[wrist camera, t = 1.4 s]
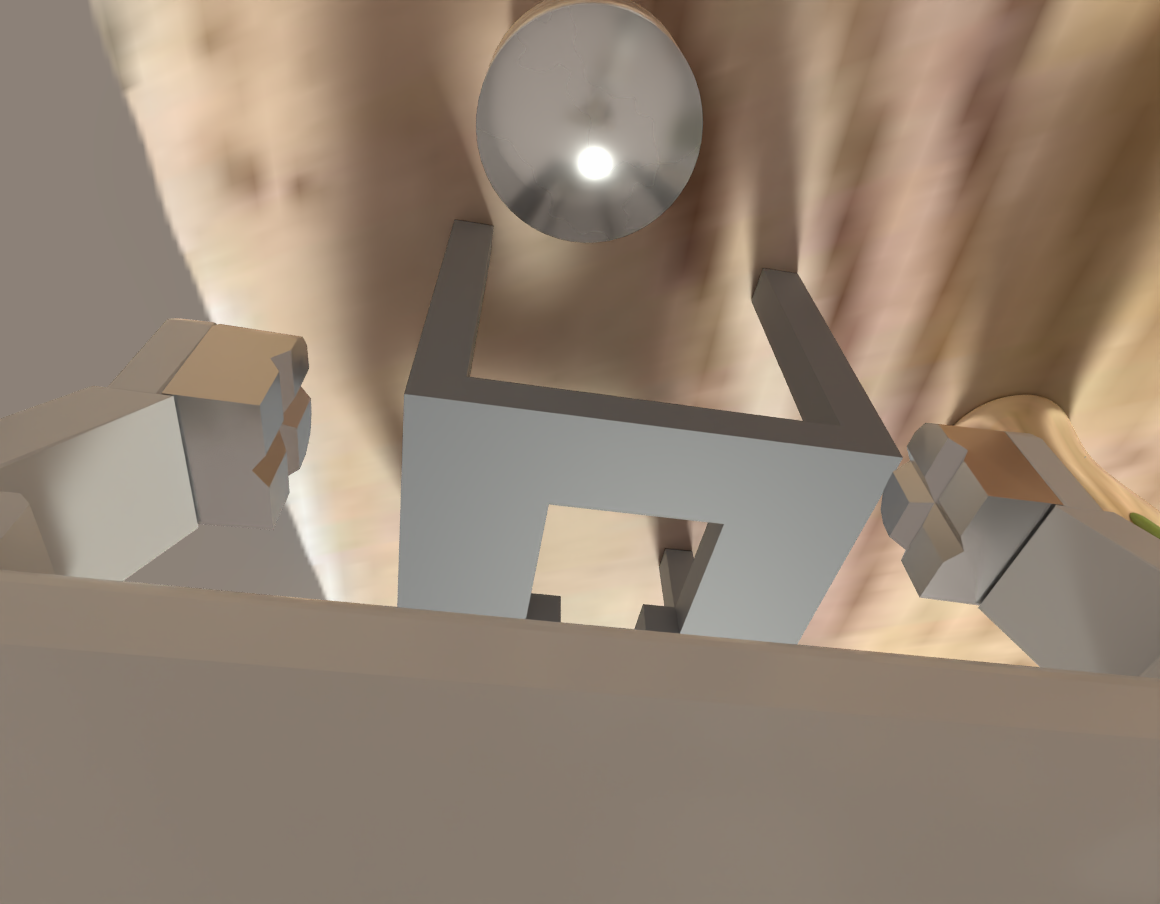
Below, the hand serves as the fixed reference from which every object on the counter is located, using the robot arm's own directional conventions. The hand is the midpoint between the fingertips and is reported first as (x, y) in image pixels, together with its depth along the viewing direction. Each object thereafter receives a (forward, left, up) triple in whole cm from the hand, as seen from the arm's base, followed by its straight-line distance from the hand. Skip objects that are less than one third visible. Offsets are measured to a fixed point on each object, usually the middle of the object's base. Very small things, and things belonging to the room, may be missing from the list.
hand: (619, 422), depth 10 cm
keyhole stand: (+15, +3, -20) cm, 25 cm away
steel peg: (0, 0, -20) cm, 20 cm away
